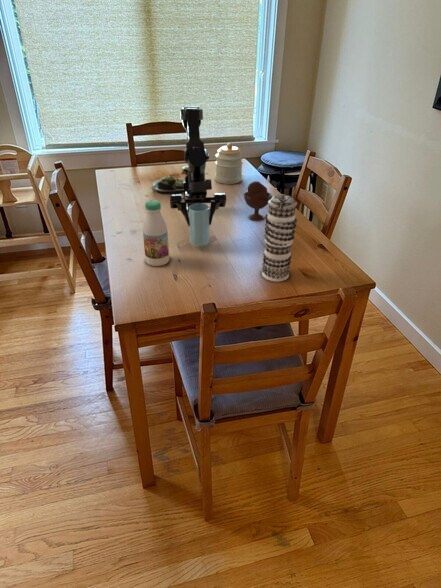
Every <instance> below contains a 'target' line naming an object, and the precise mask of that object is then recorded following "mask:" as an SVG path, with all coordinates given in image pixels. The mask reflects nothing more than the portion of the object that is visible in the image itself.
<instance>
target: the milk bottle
mask: <svg viewBox="0 0 441 588" xmlns="http://www.w3.org/2000/svg"><path fill="white" fill-rule="evenodd" d="M144 206H145V211H146V213H145V214H146V215H145V218H144V221H143V223H142V238H143V249H144V257H145V262H146V263H147V264H148V266H153V267H160V266H164V265H167V264H168V263H169V261H170V243H169V233H168V226H167V223H166V221H165V218H164V217H163V215H162V212H161V210H162V205H161V201H159V200H156V199H155V200H154V199H152V200H147V201H145V203H144Z"/></svg>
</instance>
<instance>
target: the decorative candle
mask: <svg viewBox="0 0 441 588" xmlns="http://www.w3.org/2000/svg"><path fill="white" fill-rule="evenodd" d="M268 203H269V204H268V211H267V213H266V214H265V217H264V219H265V220H264V221H265V223H264V226H265V227H264V242H265V246H264V251H263V255H262V257H263V258H262V263H261V264H262V265H261V266H262V267H261V270H262V271H261V276H262V277H263V278H264V279H265V280H267V281H270V282H276V283H277V282H285V281H286V280H287V279H288V278H289V277H290V268H291V263H292V262H291V259H292V254H291V253H292V245H293V244H294V239H295V233H296V231H295V229H296V228H297V222H298V219H297V217H296V207H297V206H298V202H297V200H295V198H294V197H292V196H291V195H289V194H283V193H281V194H275V195H274V196H272V198H271V199H270V200H269V201H268Z"/></svg>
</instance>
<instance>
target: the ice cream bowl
mask: <svg viewBox="0 0 441 588" xmlns="http://www.w3.org/2000/svg"><path fill="white" fill-rule="evenodd" d="M272 197H273V196H272V193H270V192H268V188H267V187H266V186H265V185H264V184H262V183H261V182H260V181H259V180H258V181H256V180H255V181H251V182H250V183H249V184H248V186H247V188H246V191H245V192H244V193H243V199H244V201H245V204H246V205H247V206H248V207H249V208H251V209H253V210H254V212H253V213H252V214H250V215H249V216H248V217H249V219H250V220H252V221H255V222H258V221H262V220H264V217H263V215H262V214H260V210H262V209H264V208H265V207H266V206H267V205H269V203H268V201H269V200H270V199H272Z"/></svg>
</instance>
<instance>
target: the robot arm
mask: <svg viewBox="0 0 441 588" xmlns="http://www.w3.org/2000/svg"><path fill="white" fill-rule="evenodd" d="M179 113H180V121H182V122H181V123H182V126H183V129H184V130H185V131H186V142H185V149H183V153H184V154H183V158H184V160H183V161H184V162H185V163H186V164H187V166H188V171H187V173H186V175H185V177H184V180H185V182H183V183H184V192H183V193H179V194H170V196H169V204H170V205H169V206H170V207H169V208H170V209H173V210H174V209H177V211H180V212H181V214H182V215H183V218H184V220H185V222H186V224H187V226H188V227H189V209H188V207H189V206H190V205H192V204H196V203H202V204H210V205H209V208H210V221H209V224H210V226H212V222H213V219H214V214H215V212H216V210H219V209H220V208H225V207H226V204H227V194H226V193H225V192H219V193H218V192H216V193H215V192H214V193H213V196H208V191H211V190H212V189H213V188H212V179H210V178H209V179H208V178H206V172H205V171H206V166H207V162H208V161H209V160H210V155H209V153H208V150H207V149H206V148H205V143H204V142H203V140H202V139H201V134H200V127H201V124H202V121H203V120H204V109H203V108H202V109H201V108H200V106H183V107H182V109H180V112H179ZM182 194H183V196H182Z"/></svg>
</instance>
